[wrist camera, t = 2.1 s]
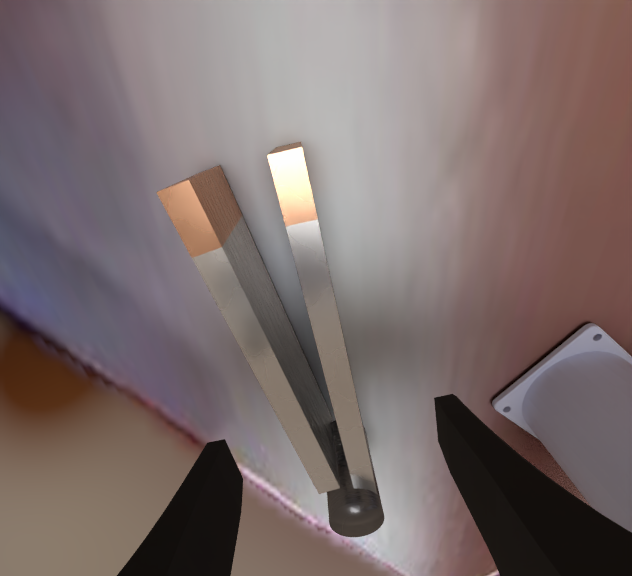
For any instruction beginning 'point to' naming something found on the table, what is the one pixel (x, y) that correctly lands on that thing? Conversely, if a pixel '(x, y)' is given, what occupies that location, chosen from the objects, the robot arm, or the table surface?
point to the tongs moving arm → (254, 315)
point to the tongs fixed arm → (328, 348)
